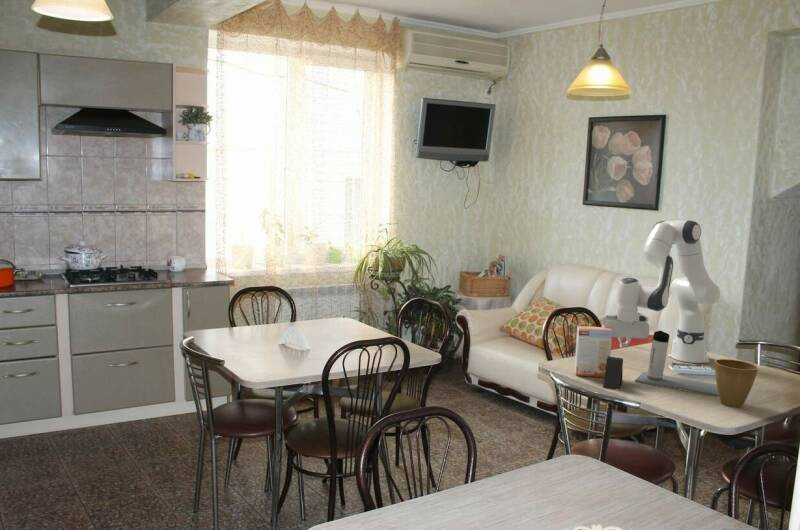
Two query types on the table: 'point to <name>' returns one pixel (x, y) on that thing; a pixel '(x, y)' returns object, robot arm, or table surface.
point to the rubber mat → (681, 384)
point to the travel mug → (658, 355)
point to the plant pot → (734, 381)
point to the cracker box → (592, 350)
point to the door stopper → (613, 373)
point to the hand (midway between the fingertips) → (623, 347)
